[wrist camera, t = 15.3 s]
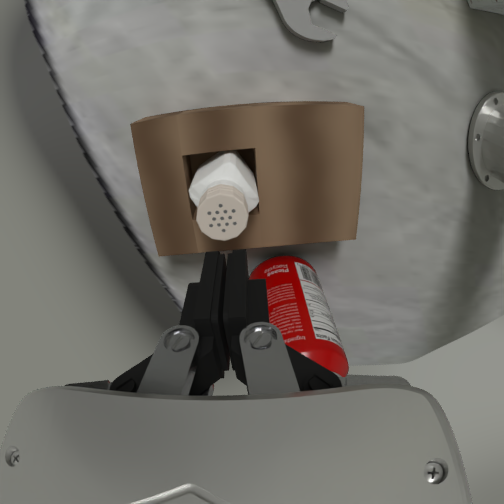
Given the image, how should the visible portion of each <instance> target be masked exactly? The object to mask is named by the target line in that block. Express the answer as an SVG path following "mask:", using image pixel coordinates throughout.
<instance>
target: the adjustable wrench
mask: <svg viewBox="0 0 504 504" xmlns="http://www.w3.org/2000/svg"><path fill="white" fill-rule="evenodd" d="M272 1H273V3H274V4H275V6H276V9H277V11H278V13H279V15H280V18H281V20H282V22H283V24H284V25H285V27H286V28H287V29H288V30H289V31H290V32H291V33H292V34H294V35H295V36H297V37H299V38H301V39H303V40H307V41H311V42H325V41H330V40H332V39H334V38H336V36H337V35H336V34H334V33H332V32H330V31H327V30H325V29H323V28H320V27H318V26H316V25H313V24H312V22H311V18H310V14H309V10H308V8H309V6H310V4H311V3H312V2H313V1H316V0H272ZM319 3H321V4H324V5H326V6H328V7H331V8H333V9H335V10H337V11H340V12H342V13H343V12H345V11H347V10H348V7H349V5H348V3H347V0H319Z"/></svg>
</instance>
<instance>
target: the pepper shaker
mask: <svg viewBox="0 0 504 504" xmlns="http://www.w3.org/2000/svg"><path fill="white" fill-rule="evenodd" d="M189 195H190V198H191V199H192V201H193V202H194V204H195V205H196V206H197V208H198V209H197V217H196V221H197V223H198V225H199V227H200V230H201V232H203V233H204V234H206V235H207V236H209V237H210V238H211V239H216V240H223V241H226V240H229V239H232V238H235V237H238V236H239V235H240V233H241V232H242V231H243V230H244V229H245V228H246V226H247V221H248V216H249V212H250V211H251V210H253V209H254V208H255V207H256V206H257V204H258V203H259V197H258V192H257V187H256V182H255V177H254V174H253V172H252V171H251V169H250V168H249V167H248V165H247V164H246V162H245V161H244V160H243V158H242V157H241V156H240V154H239V153H238V152H237V150H226V151H220V152H218V153H217V154H215V155H214V156H212V157H211V158H210V159H208V160H207V161H205V162H204V163H203V164H201V165H200V166H199V167H198V169H197V171H196V173H195V176H194V178H193V181H192V183H191V186H190V188H189Z"/></svg>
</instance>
